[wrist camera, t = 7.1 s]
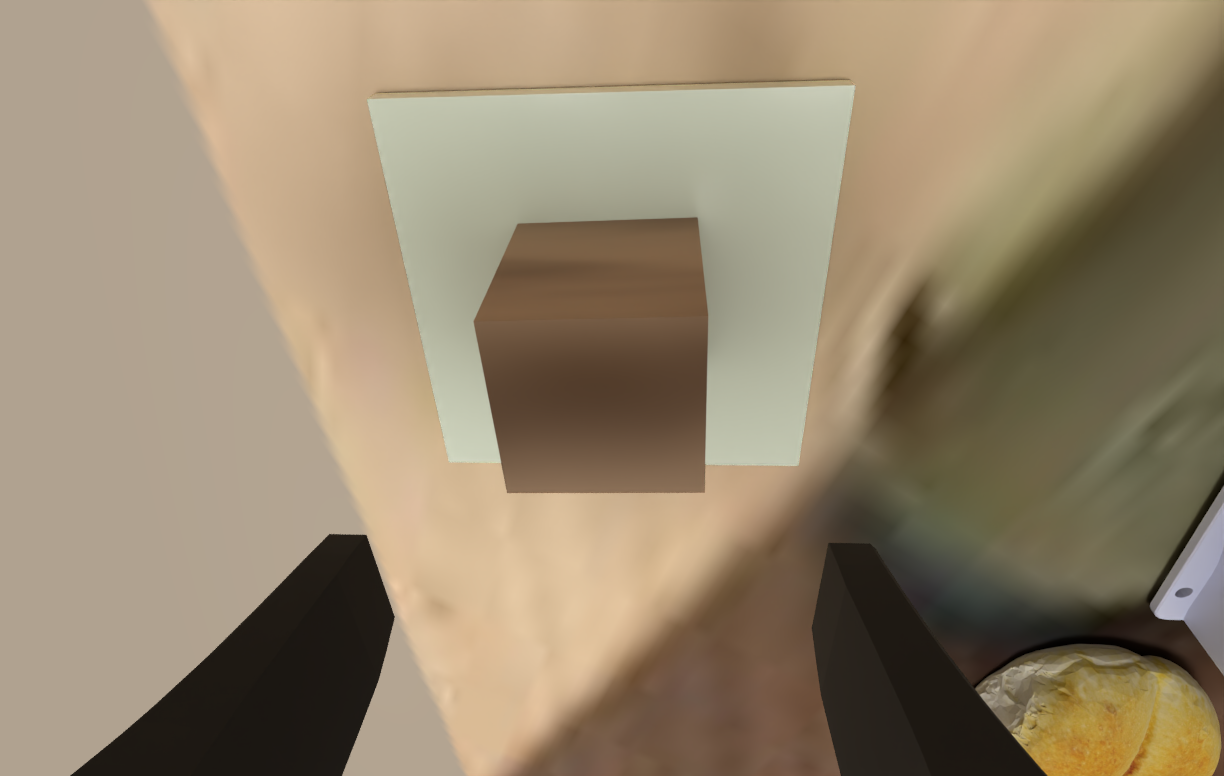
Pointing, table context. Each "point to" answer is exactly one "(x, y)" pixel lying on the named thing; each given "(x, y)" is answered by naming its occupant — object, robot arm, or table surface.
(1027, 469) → the table surface
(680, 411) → the walnut block
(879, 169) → the table surface
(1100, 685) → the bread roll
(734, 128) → the plate
